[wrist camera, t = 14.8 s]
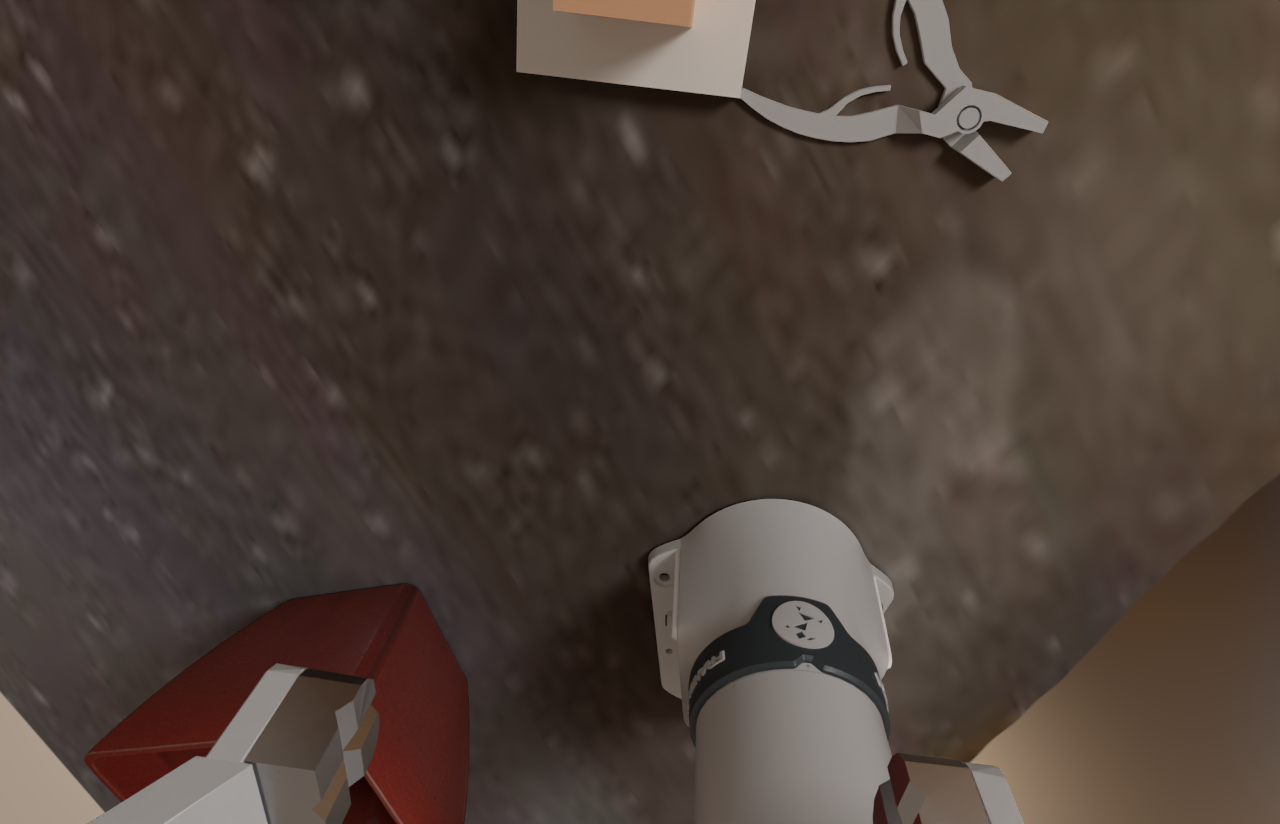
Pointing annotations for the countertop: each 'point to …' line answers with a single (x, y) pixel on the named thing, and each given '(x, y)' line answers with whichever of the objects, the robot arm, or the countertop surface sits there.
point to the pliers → (949, 121)
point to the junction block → (639, 47)
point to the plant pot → (335, 642)
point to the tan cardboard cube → (633, 10)
